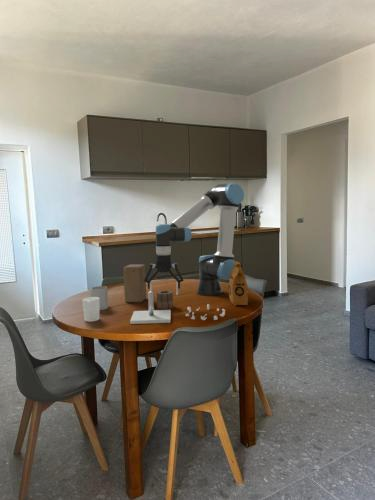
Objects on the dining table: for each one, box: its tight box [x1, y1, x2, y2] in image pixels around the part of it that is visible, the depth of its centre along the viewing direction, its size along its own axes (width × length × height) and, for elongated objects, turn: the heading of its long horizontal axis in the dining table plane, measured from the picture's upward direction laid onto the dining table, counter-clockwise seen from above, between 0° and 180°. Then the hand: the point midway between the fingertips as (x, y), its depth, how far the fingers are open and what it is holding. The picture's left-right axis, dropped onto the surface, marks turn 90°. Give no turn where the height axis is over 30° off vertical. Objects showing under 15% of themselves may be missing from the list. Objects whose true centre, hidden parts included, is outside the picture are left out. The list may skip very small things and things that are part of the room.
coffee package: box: [228, 260, 249, 307], centre depth 197 cm, size 10×12×22 cm
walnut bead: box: [156, 290, 174, 310], centre depth 194 cm, size 8×8×8 cm
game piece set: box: [185, 303, 226, 321], centre depth 179 cm, size 19×20×4 cm
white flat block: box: [129, 309, 172, 325], centre depth 175 cm, size 18×16×2 cm
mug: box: [90, 285, 109, 311], centre depth 196 cm, size 12×8×11 cm
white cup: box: [81, 296, 101, 322], centre depth 175 cm, size 8×8×10 cm
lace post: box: [147, 291, 155, 316], centre depth 174 cm, size 2×2×11 cm
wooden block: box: [123, 263, 147, 303], centre depth 209 cm, size 10×10×20 cm
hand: (164, 295), depth 193 cm, fingers open, 13 cm apart
